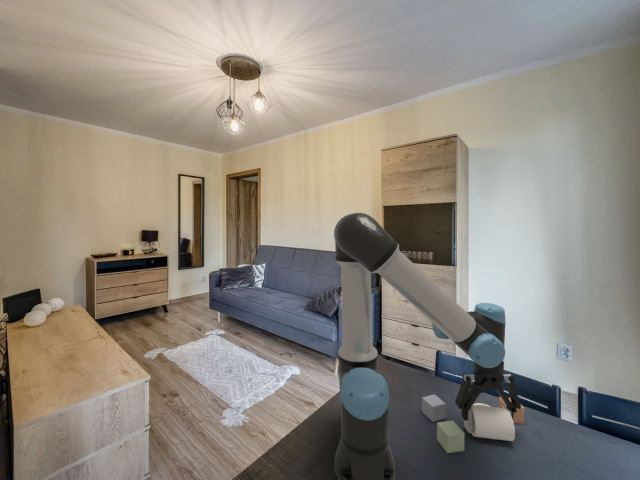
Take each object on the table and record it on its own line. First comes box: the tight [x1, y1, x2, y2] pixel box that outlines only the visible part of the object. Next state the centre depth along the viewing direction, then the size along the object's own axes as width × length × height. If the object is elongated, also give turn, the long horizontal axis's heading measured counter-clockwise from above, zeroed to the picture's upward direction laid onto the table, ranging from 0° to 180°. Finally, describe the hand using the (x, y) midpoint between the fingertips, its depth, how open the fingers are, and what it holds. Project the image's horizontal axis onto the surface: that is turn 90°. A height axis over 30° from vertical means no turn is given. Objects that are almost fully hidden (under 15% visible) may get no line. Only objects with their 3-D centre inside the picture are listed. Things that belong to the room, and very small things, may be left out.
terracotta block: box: [498, 396, 526, 425], centre depth 88 cm, size 5×5×5 cm
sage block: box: [436, 420, 465, 454], centre depth 78 cm, size 5×5×5 cm
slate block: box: [421, 394, 447, 423], centre depth 89 cm, size 5×5×5 cm
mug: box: [470, 402, 516, 442], centre depth 83 cm, size 12×10×8 cm
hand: (486, 429), depth 82 cm, fingers closed on mug, 11 cm apart
